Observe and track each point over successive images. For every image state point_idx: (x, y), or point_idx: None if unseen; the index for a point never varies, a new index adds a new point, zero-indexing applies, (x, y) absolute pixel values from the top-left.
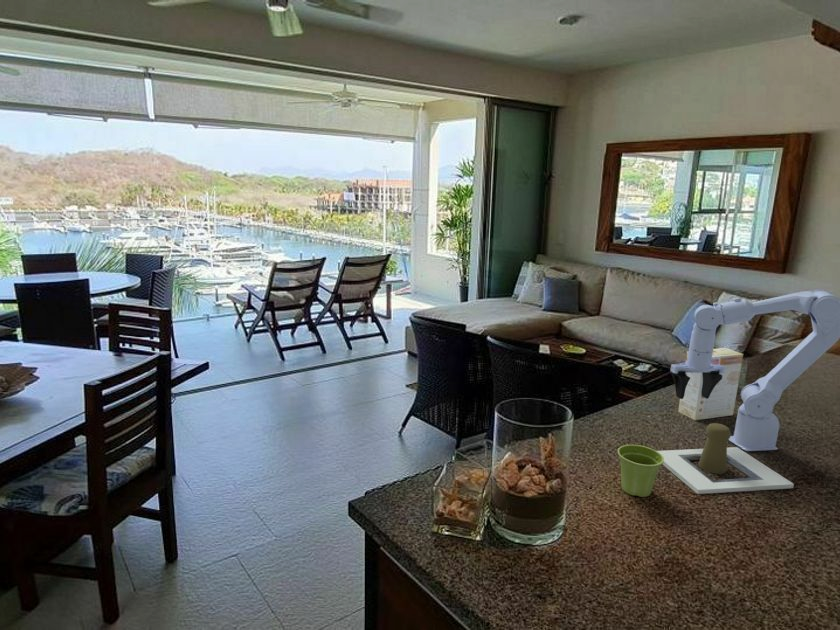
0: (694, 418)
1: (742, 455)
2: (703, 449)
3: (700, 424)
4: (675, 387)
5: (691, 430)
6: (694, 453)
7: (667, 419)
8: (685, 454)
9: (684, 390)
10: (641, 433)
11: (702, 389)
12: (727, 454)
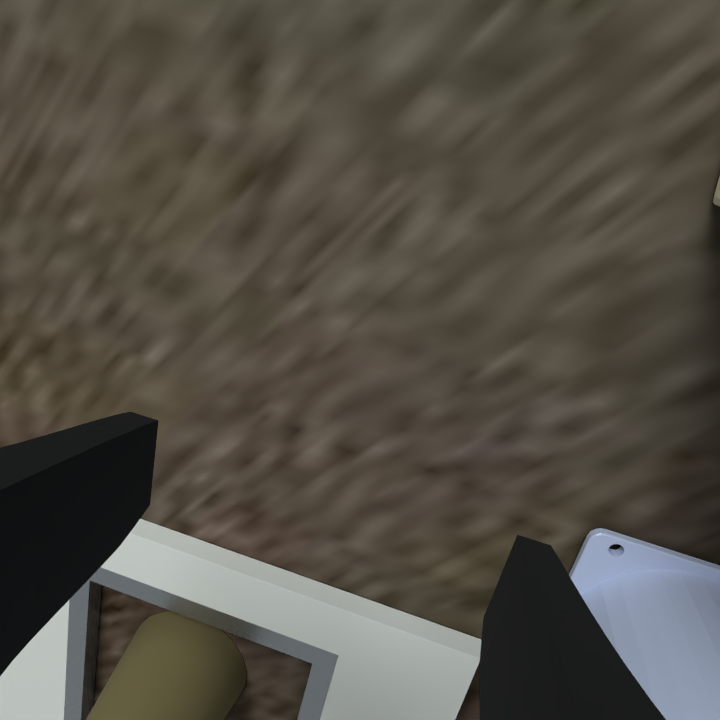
0: (717, 197)
1: (408, 714)
2: (99, 700)
3: (671, 286)
4: (15, 447)
5: (473, 340)
6: (167, 586)
7: (469, 91)
8: (112, 571)
9: (40, 612)
10: (78, 241)
11: (530, 605)
12: (333, 672)
